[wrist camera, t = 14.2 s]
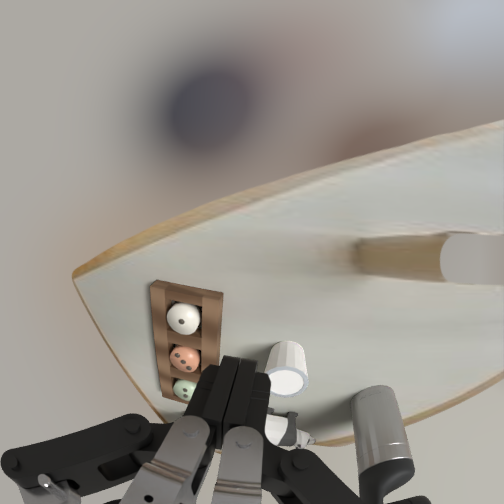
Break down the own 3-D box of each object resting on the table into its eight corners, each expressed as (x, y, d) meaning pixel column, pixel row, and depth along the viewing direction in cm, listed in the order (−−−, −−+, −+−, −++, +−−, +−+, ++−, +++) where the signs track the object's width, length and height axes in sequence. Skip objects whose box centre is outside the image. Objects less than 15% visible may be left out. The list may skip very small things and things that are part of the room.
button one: (201, 329, 43) (196, 338, 40) (172, 323, 43) (167, 331, 41) (202, 303, 41) (197, 311, 39) (171, 297, 42) (165, 304, 39)
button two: (201, 396, 48) (198, 404, 46) (177, 389, 49) (173, 397, 47) (201, 379, 47) (197, 388, 45) (176, 373, 47) (171, 381, 45)
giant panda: (255, 416, 50) (249, 446, 42) (260, 404, 48) (255, 435, 41) (310, 426, 49) (310, 456, 42) (319, 415, 48) (319, 446, 40)
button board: (217, 401, 50) (214, 410, 47) (166, 388, 51) (162, 396, 48) (223, 292, 41) (219, 300, 39) (157, 279, 42) (150, 286, 40)
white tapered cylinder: (257, 352, 44) (251, 381, 37) (288, 330, 42) (286, 359, 35) (286, 374, 45) (283, 403, 38) (316, 354, 42) (318, 383, 36)
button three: (201, 366, 46) (197, 375, 43) (175, 360, 46) (170, 368, 44) (201, 346, 44) (197, 354, 42) (173, 339, 44) (168, 347, 42)
